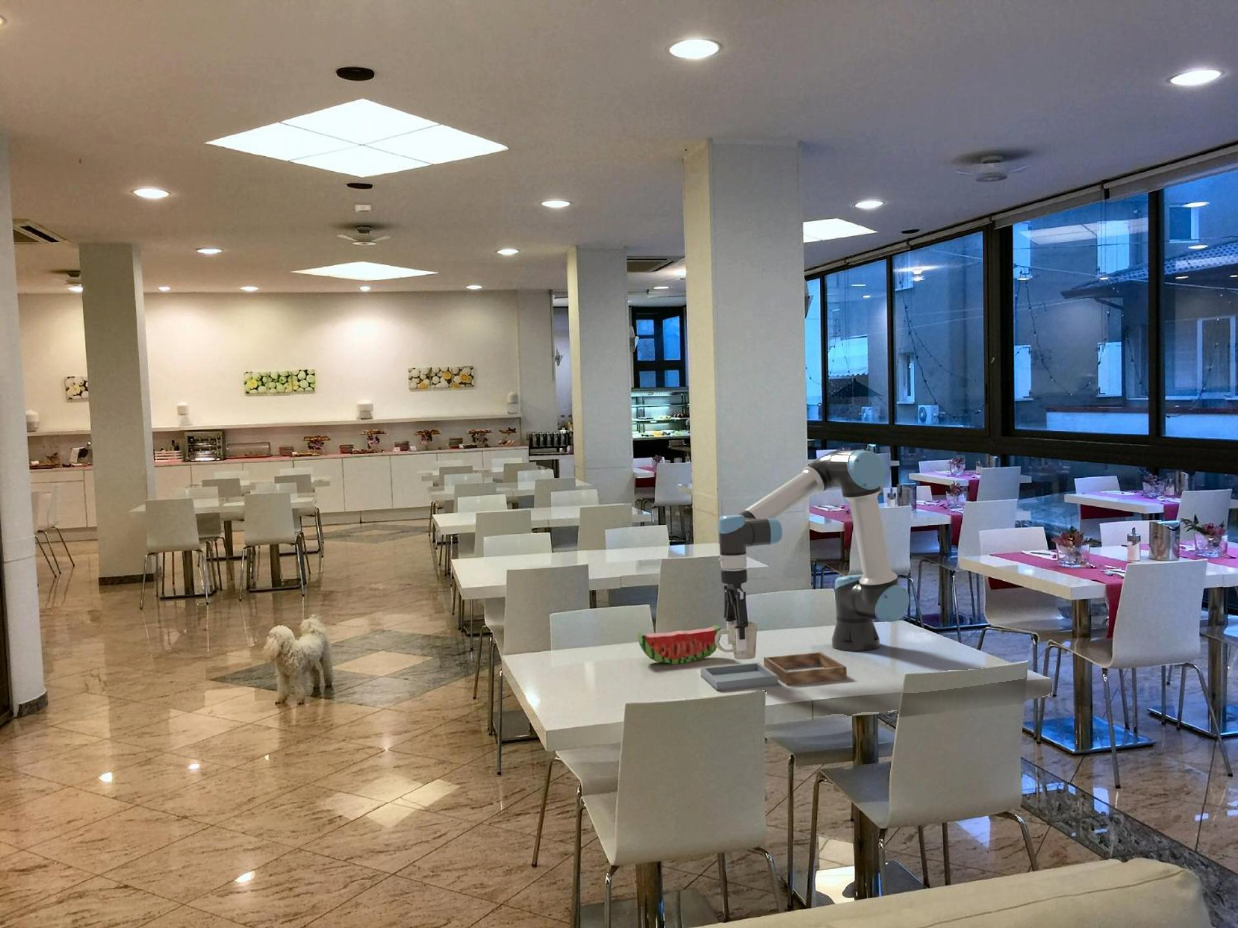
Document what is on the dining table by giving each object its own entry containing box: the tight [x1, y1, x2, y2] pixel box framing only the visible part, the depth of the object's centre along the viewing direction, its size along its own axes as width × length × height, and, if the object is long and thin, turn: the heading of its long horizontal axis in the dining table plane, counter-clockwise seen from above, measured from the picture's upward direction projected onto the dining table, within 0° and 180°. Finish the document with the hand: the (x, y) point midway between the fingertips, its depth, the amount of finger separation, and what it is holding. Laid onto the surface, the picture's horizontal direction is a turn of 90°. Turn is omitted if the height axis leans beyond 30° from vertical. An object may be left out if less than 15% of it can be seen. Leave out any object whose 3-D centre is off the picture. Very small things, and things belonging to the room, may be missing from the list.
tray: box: [700, 662, 779, 692], centre depth 286 cm, size 18×17×2 cm
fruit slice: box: [637, 624, 722, 665], centre depth 313 cm, size 26×6×10 cm, turn 103°
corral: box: [763, 651, 848, 686], centre depth 290 cm, size 18×20×4 cm
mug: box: [715, 620, 758, 660], centre depth 286 cm, size 8×13×10 cm, turn 78°
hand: (736, 646), depth 286 cm, fingers closed on mug, 8 cm apart
